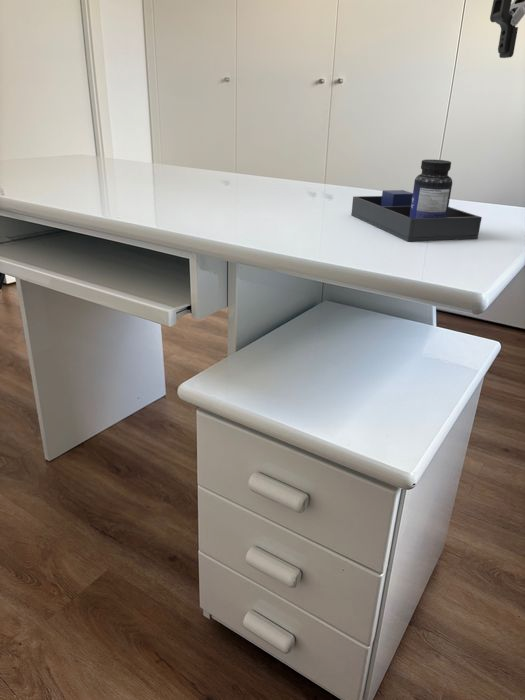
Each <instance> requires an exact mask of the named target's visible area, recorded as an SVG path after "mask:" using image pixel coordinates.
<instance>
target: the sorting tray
mask: <svg viewBox="0 0 525 700" xmlns="http://www.w3.org/2000/svg"><path fill="white" fill-rule="evenodd" d="M381 200H382V195H365V196H364V195H359V196H358V195H355V196H352V205H351V214H350V215H351V216H352V217H354V218H356V219H359V220H361V221H363V222H365V223H368V224H369V225H371V226H374V227H376V228H378V229H380V230H382V231H385V232H386V233H389V234H391V235H393V236H395V237H397V238H399V239H401V240H403V241H406V242H431V241H430V240H433V241H451V240H450V239H458V240H477V239H478V238H479V235H480V229H481V225H482V224H481V223H482V219H483V217H482V216H479V215H478V214H477V215H476V214H473V213H470V212H467V211H463V210H460V209H457V208H454V207H451V206H448V212H447V217H445V218H413V219H412V218H410V210H411V206H382V207H381Z"/></svg>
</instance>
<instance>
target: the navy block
mask: <svg viewBox="0 0 525 700" xmlns="http://www.w3.org/2000/svg"><path fill="white" fill-rule="evenodd" d="M381 196H382V200H381V207H382V206H411V203H412V196H413V192H410V191H408V190H404V189H394V190H393V189H389V190H385V189H384V190H382V193H381Z"/></svg>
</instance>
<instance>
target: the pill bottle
mask: <svg viewBox="0 0 525 700" xmlns="http://www.w3.org/2000/svg"><path fill="white" fill-rule="evenodd" d="M451 167H452V161H450V160H444V159H422V160H421V163H420V169H421V173H420V174H418V175H417V176H416V177H415V179H414V181H413V182H414V184H413V190H412V193H413V196H412V203H411V210H410V218H412V219H413V218H445V217H447V212H448V207H450V206H449V205H450V199H451V194H452V187H453V178H451V176H449V171H451Z"/></svg>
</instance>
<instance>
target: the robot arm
mask: <svg viewBox="0 0 525 700" xmlns="http://www.w3.org/2000/svg"><path fill="white" fill-rule="evenodd" d="M524 16H525V0H493V1H492V5H491V11H490V15H489V20H490V22H491V23H496V24H497V25H498V26H499V27H500V35H499V40H498V41H499V42H498V47H497V53H498V55H499V58H500V59H509V58H513V56H514V52H515V46H516V41H517V36H518V30H519V27H518V26H517V25H518V24H519V23H520V21H521V20H522V19H523V18H524Z"/></svg>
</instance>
